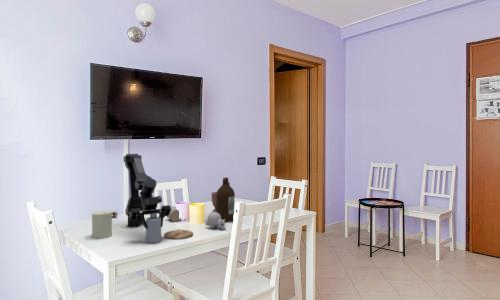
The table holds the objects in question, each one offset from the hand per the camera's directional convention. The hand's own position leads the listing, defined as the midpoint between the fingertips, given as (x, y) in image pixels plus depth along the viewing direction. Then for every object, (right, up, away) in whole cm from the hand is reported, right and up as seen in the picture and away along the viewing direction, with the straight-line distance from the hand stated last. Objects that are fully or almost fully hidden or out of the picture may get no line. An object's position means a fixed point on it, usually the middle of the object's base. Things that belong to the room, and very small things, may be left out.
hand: (154, 227), depth 166 cm
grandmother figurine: (-40, -3, +41) cm, 57 cm away
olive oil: (+30, -5, +44) cm, 53 cm away
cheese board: (+9, -8, +12) cm, 17 cm away
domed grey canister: (-1, -7, +1) cm, 7 cm away
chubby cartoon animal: (+26, -6, +25) cm, 37 cm away
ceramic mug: (+1, -5, +44) cm, 44 cm away
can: (-28, -6, +10) cm, 31 cm away
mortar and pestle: (+25, -5, +64) cm, 69 cm away
